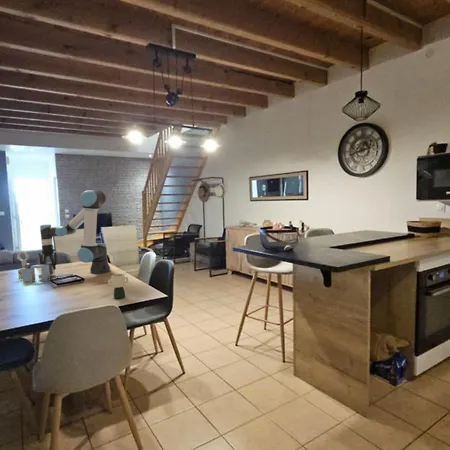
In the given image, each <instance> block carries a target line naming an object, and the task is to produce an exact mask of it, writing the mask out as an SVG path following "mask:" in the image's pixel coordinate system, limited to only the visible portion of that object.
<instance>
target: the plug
mask: <svg viewBox="0 0 450 450" xmlns="http://www.w3.org/2000/svg"><path fill="white" fill-rule="evenodd" d="M46 264H49V273H50V276H52V275H53V274H52V262H48V261H46V263H45V264H44V265H46ZM38 279H39V280H40V279H42V273H40V274H39V275H38Z"/></svg>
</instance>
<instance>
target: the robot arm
mask: <svg viewBox="0 0 450 450" xmlns="http://www.w3.org/2000/svg"><path fill="white" fill-rule="evenodd" d="M79 201H80V204H81V206H82V209H81V210H80V211H79V212H78V213H77V214H76V215H75V216H74V217H73V218H72V219H70V221H69V222H68V223H66V225H60V226H52V224H49V223H48V224H40V226H39V228H40V229H39V231H40V240H41V250H42V251H41V252H39V253H38V256H39V265H44V264H45V263H47V262H48V261H47V259H48V258H49V259H50V261H51V262H52V275H54V274H56V269H57V268H56V266H57V265H58V264H59V260H58V251H54V245H53V243H54V242H53V238H54V237H65V236H69V235H73V234H75V233H76V231H77V229H78V228H79V227H80V226H81V225H82V224H83V241H82V242H81V243H80V248H79V249H78V250H77V253H76V254H77V258H78V260H79V261H80V262H82V263H85V264H87V263H88V264H89V263H91V266H90V269H89V271H90V274H102V273H109V272H110V271H111V266H110V265H109V261H108V251H107V244H106V243H105V242H103V243H102V242H100V243H99V242H96V240H97V225H98V224H97V222H98V219H97V218H98V211H99V210H100V209H102V207H103V206H104V205H105V204H106V202H107V196H106V193H104V192H103V191H101V190H93V189H92V190H91V189H90V190H89V189H88V190H85V191H83V192H82V193H81V194H80V196H79Z"/></svg>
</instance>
